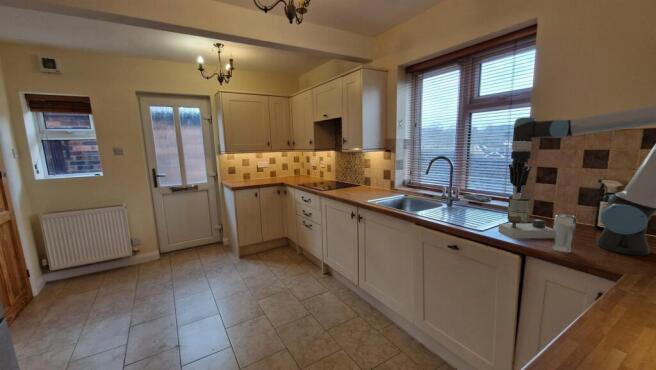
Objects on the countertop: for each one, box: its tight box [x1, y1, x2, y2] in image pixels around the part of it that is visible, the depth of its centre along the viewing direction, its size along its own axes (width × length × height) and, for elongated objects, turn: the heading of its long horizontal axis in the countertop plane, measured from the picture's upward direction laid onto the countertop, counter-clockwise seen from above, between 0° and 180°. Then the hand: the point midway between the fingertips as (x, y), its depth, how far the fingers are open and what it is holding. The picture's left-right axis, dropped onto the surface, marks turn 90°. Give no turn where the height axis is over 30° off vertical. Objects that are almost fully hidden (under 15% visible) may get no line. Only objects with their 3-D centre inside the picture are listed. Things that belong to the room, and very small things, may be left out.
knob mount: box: [498, 222, 554, 239], centre depth 132 cm, size 11×20×4 cm, turn 89°
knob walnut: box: [507, 215, 522, 228], centre depth 131 cm, size 5×5×6 cm
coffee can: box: [507, 195, 531, 224], centre depth 156 cm, size 10×10×14 cm
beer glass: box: [551, 213, 577, 254], centre depth 111 cm, size 7×7×15 cm
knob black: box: [531, 218, 546, 228], centre depth 131 cm, size 5×5×6 cm
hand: (516, 198), depth 130 cm, fingers closed
